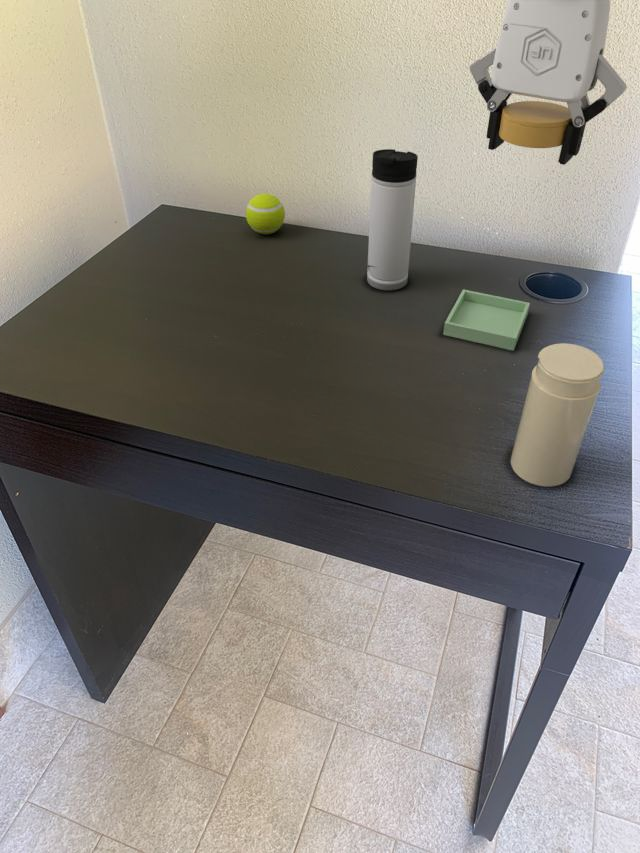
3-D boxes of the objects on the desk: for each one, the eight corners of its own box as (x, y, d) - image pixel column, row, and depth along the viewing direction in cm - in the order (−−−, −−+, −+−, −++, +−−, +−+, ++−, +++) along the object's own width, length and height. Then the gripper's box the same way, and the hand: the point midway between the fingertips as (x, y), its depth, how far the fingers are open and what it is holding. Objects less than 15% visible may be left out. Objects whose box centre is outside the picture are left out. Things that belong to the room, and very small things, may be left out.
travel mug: (360, 287, 105) (365, 155, 91) (374, 268, 109) (381, 139, 96) (399, 295, 103) (409, 162, 90) (412, 275, 107) (424, 145, 94)
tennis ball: (291, 236, 118) (290, 199, 113) (254, 244, 116) (252, 206, 111) (277, 221, 122) (275, 184, 118) (242, 228, 120) (238, 191, 116)
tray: (527, 314, 99) (530, 302, 97) (513, 350, 92) (516, 338, 91) (461, 301, 102) (462, 289, 100) (442, 335, 95) (444, 322, 94)
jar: (575, 454, 77) (610, 350, 67) (567, 493, 72) (603, 388, 63) (516, 438, 79) (542, 335, 69) (504, 476, 74) (530, 371, 65)
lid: (581, 135, 75) (587, 110, 73) (547, 153, 71) (552, 127, 69) (521, 120, 79) (525, 96, 77) (485, 137, 75) (489, 112, 73)
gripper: (465, -38, 66) (444, 148, 78) (652, -22, 59) (598, 181, 70) (496, -48, 71) (471, 129, 82) (672, -34, 63) (618, 158, 75)
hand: (530, 152), depth 76 cm, fingers closed on lid, 7 cm apart
